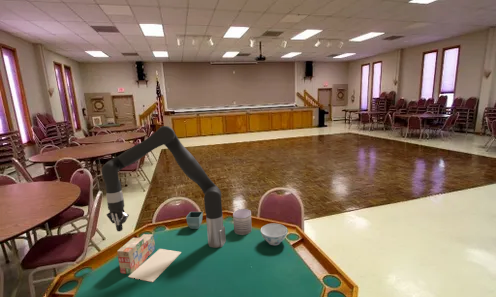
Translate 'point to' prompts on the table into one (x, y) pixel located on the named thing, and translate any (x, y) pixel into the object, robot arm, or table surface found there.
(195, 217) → the flower pot
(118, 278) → the table surface
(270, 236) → the chinaware
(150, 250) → the stack of blocks
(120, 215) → the robot arm
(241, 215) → the can
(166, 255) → the mat
